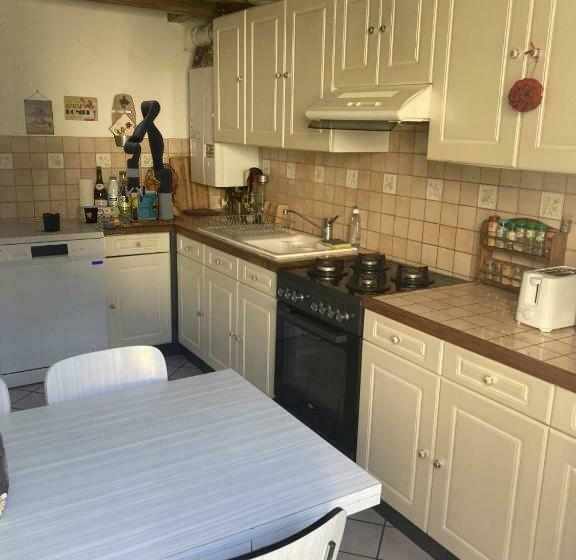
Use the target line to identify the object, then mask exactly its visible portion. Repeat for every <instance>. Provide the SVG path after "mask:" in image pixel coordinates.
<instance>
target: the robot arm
mask: <svg viewBox="0 0 576 560" xmlns="http://www.w3.org/2000/svg"><path fill="white" fill-rule="evenodd" d="M161 110H162V109H161V104H160V102H159V101H157V100H153V99H152V100H142V102H141V103H140V111H141V115H142V118H143V119H142V120H141V121H140V122H139V123H138V124H137V126H136V127H135V128H134V130H133V131H132V134H131V136H130V137H129V138H128V139H127V140H126V141H125V143H124V144H123V152H124V153H125V154H127V155H132V156H131V157H130V158H128V159H127V160H126V185H122V186H121V196H122V197H123V196H124V197H125V198H124V199H125V200H124V201H125V203H126V204H129V203H130V201H129V196H130V195H131V194H134V193H135V194H137V193H138V194H139V195H140V196H139V198H140V202H142V201H143V196H144V195H146V192H145V191H146V186H145V185H144V184H142V185H141V183H140V182H141V178H140V177H141V176H140V158H141V155H142V146H141V143H142V142H143V141H144V139H145V137H146V134H147V140H148V145H149V149H150V155H151V159H152V160H151V161H152V167H153V169H152V170H153V177H154V178H155V180H156V181H157V182H159V186H158V187H157V188H156V204H157V220H160V221H161V220H163V221H167V220H168V221H169V220H173V219H174V204H173V203H172V202H173V201H172V189H173V179H174V178H173V172H172V170H171V169H170V168H168V167H165V166H164V158H163V157H164V151H165V142H164V137H163V134H162V133H161V131H160V130H159V128H158V127H157V126H156V124H155V122H154V121H155V120H156V119H157V117H158V116H159V114H160V113H161ZM140 189H141V190H140ZM140 191H142V193H141V192H140Z"/></svg>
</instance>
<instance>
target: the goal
mask: <svg viewBox="0 0 576 560" xmlns="http://www.w3.org/2000/svg"><path fill="white" fill-rule="evenodd" d="M98 226H100V227H102V228H101V229H103V228H108V229H115V226H114V223H113V222H110V220H99V221H98V220H97V227H98ZM100 227H99V228H100Z"/></svg>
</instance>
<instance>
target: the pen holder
mask: <svg viewBox="0 0 576 560" xmlns="http://www.w3.org/2000/svg"><path fill="white" fill-rule="evenodd" d="M42 223H43V228H44V229H43V230H44V231H45V232H47V233H48V232H49V233H51V232H60V230H61V213H60V212H56V213H52V212H44V213H43V212H42Z"/></svg>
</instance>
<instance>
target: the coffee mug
mask: <svg viewBox="0 0 576 560" xmlns="http://www.w3.org/2000/svg"><path fill="white" fill-rule="evenodd" d="M83 210H84V216H85V217H84V218H85V222H86V224H89V223H92V224H98V219H99V218H100V217H103V215H104V214H105V210H104V209H102V208H99V206H97V205H85V206H83ZM99 211H102V214H100V215H99V216H98V214H99Z"/></svg>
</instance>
